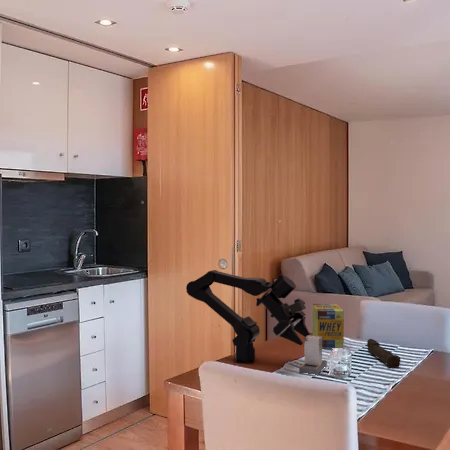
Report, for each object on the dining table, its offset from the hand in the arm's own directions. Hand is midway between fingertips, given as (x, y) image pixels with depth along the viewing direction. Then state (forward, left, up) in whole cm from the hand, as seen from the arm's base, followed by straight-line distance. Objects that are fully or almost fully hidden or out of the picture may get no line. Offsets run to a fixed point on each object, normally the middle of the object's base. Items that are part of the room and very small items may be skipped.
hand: (306, 341), depth 181 cm
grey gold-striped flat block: (+2, -1, -10) cm, 10 cm away
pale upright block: (+2, -1, -7) cm, 8 cm away
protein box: (+14, +32, -10) cm, 36 cm away
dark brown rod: (+29, +11, -10) cm, 32 cm away
